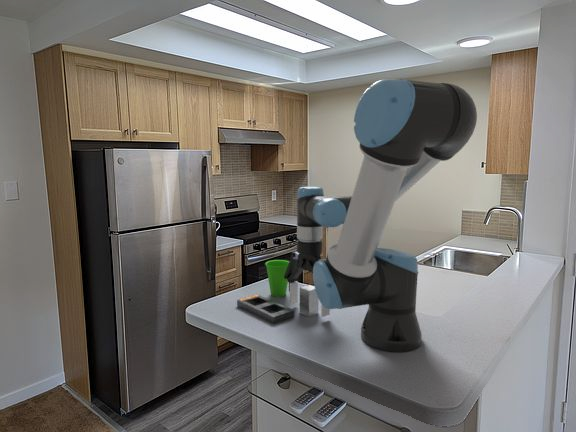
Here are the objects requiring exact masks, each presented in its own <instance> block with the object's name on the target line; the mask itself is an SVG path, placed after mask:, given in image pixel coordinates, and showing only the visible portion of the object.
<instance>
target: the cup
mask: <svg viewBox="0 0 576 432" xmlns="http://www.w3.org/2000/svg"><path fill="white" fill-rule="evenodd" d="M289 262H290V260H287V259H286V260H284V259H273V260H268V261H266V262H265V263H264V265H265V267H266V271H267V278H268V284H269V290H270V294H271V296H272V297H275V296H276V298H279V297H284V296H286V294H287V289H288V285H289V282H288V280H287V279H284V275H285V272H286V269H287V267H288V264H289Z"/></svg>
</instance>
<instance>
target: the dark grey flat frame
mask: <svg viewBox="0 0 576 432" xmlns="http://www.w3.org/2000/svg"><path fill="white" fill-rule="evenodd" d="M236 306H237V307H238V308H240V309H242V310H245V312H248V313H250V314H253V315H254V316H257V317H259V318H260V319H263V320H265V321H266V322H269V323H271V324H273V325H274V324H278V323H279V322H283V321H286V320H289V319H292V318H294V317H295V309H293V308H290V307H288V306H286V305H283V304H281V303H278V302H276V301H274V300H272V299H269V298H267V297H264V296H262V295H259V294H253V295H250V296H248V297H243V298H240V299H237V300H236ZM273 311H275V312H273ZM271 312H272V313H271Z"/></svg>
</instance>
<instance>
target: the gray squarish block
mask: <svg viewBox="0 0 576 432" xmlns="http://www.w3.org/2000/svg"><path fill="white" fill-rule="evenodd" d="M319 303H320V300H319V298H318V296H317V293H316V290H315V286H314V285H311V284H307V285H304V286H301V287H299V314H300V313H301V315H302V316H305V317H307V316H308V318H310V317H313V316H316V315H319Z"/></svg>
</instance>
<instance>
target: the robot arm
mask: <svg viewBox="0 0 576 432" xmlns="http://www.w3.org/2000/svg"><path fill="white" fill-rule="evenodd" d="M477 113H478V111H477V107H476V104H475V102H474V100H473V98H472V96H471V95H470V94H469V93H468V92H467V91H466V90H465V89H464V88H462V87H460V86H458V85H455V84H453V83H449V82H448V83H446V82H440V83H439V82H429V81H423V80H422V81H420V80H411V79H405V78H396V79H390V78H389V79H386V78H385V79H381V80H378V81H376V82H374V83H373V84H371V85H369V87H368V88H367V89H366V90H365V91H364V92H363V93H362V95H361V96H360V99H359V101H358V103H357V106H356V109H355V112H354V118H353V122H354V123H355V124H354V126H353V131H354V135H355V138H356V140H357V141H358V142H359V150H360V151H361V153H362V155H363V158H362V162H361V167H360V169H359V173H358V176H357V180H356V181H355V185H354V188H353V192H352V195H348V196H325V195H324V189H323V188H322V187H320V186H301V187H299V188H298V189H297V195H296V196H297V197H296V204H297V205H296V208H297V209H296V214H297V215H296V239H297V241H296V251H292V252H290V259H289V264H288V267H287V269H286V272H285V275H284V279H287V280H288V292H289V304H291V305H292V304H295V303H298V302H299V301H298V300H299V299H298V296H299V293H298V291H299V290H298V289H299V287H298V285H299V281H298V278H299V276H300V275H301V274H302V273H303V272H304V271H307V272H309V273H311V274H312V280H313V286H314V287H315V290H316V293H317V296H318V298H319V303H320V304H321V311H320V312H321V313H320V315H321V317H322V318H325V317H326V316H329V315H330V313H331V312H330V311H331V310H337V309H338V310H342V309H346V308H353V307H360V306H367V305H368V308H367V311H366V313H365V317H364V319H363V322H362V325H361V327H360V338H361V340H362V341H363V342H364V343H366V344H367V345H369V346H371V347H372V348H375V349H378V350H381V351H386V352H391V353H392V352H393V353H394V352H395V353H396V352H397V353H403V352H411V351H414V350H416V349H419V347H420V346H421V344H422V338H423V336H422V331H421V327H420V322H419V319H418V316H417V313H416V312H417V311H416V309H417V306H416V305H417V292H418V291H417V288H418V276H419V271H418V270H419V269H418V268H419V267H418V264H419V263H418V259H417V257H416V256H415V255H414V254H412V253H410V252H406V251H402V250H398V249H392V248H386V247H385V248H384V247H378V246H379V244H380V241H381V239H382V237H383V233H384V231H385V228H386V226H387V224H388V221H389V218H390V215H391V212H392V210H393V208H394V205H395V202H396V201H398V200H399V199H400V198H401V197H402V196H403V195H404V194H405V193H407V192H408V191H409V190H410V189H411V188H412V187H413V186H414V185H416V183H418V182H419V181H420V180H421V179H422V178H424V176H425V175H427V174H428V173H429V172H430V171H431V170H432V169H434V168H435V167H436V166H437V165H438V164H439V163H440V162H447V161H449V160H451V159H452V158H453V157H455V155H457V154H458V153H459V152H460V151H461V150H462V149H463V148H464V147H465V146H466V144H468V142H469V141H470V139H471V137H472V136H473V134H474V131H475V129H476V126H477V119H478V114H477ZM340 225H342V228H341V231H340V234H339V238H338V240H337V241H338V242H337V243H336V244H334V245H332V246H331V247H329V249H328V252H327V256H326V258H324V259H322V257H321V255H322V253H323V231H324V230H323V229H324V227H325V228H330V229H331V228H332V229H333V228H337V227H339V226H340Z"/></svg>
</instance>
